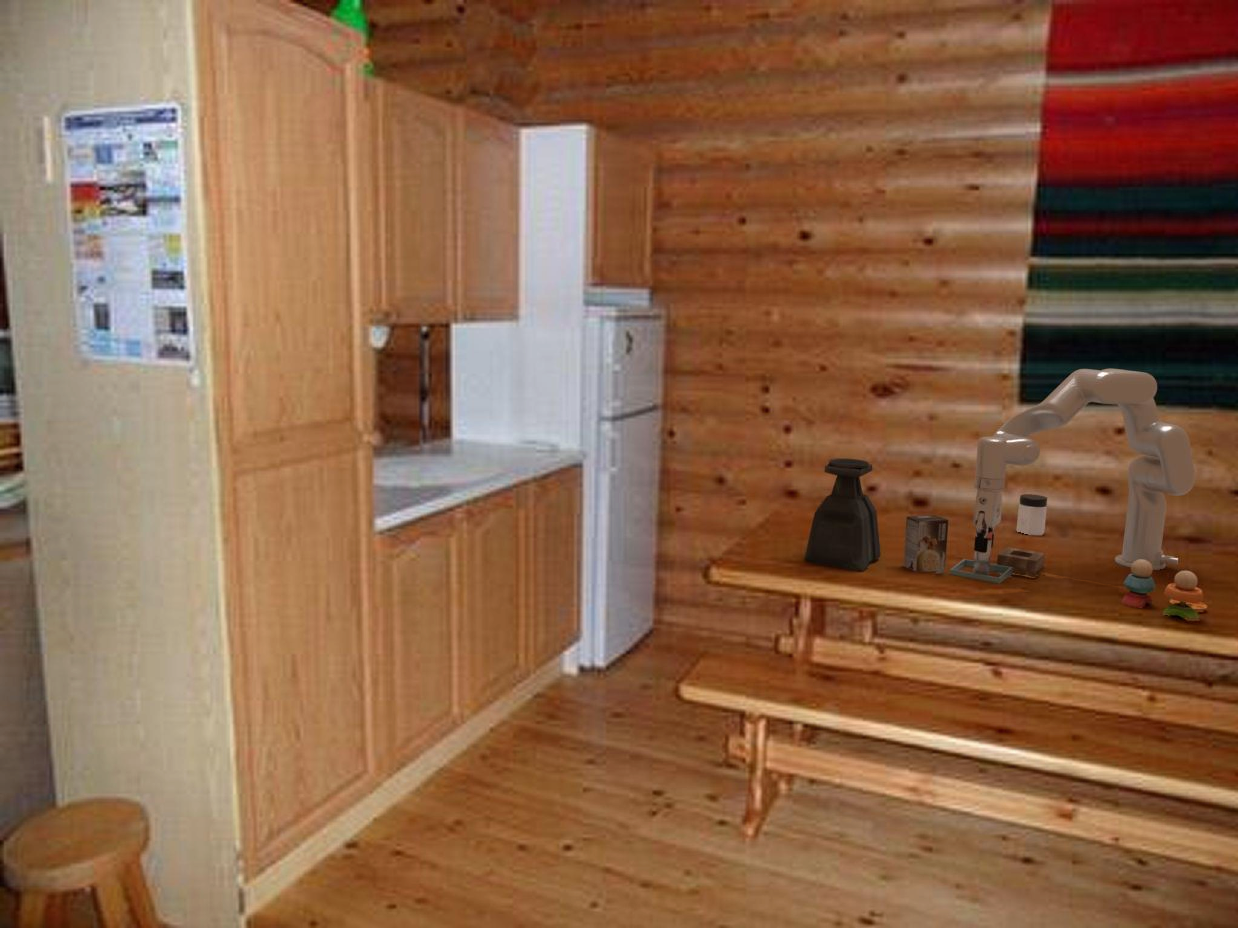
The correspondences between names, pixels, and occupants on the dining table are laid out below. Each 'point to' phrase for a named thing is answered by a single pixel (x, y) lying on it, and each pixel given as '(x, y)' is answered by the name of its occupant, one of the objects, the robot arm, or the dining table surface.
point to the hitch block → (1021, 561)
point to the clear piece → (983, 558)
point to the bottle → (845, 521)
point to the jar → (1032, 514)
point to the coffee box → (926, 543)
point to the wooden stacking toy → (1177, 592)
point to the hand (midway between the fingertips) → (983, 548)
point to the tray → (999, 569)
